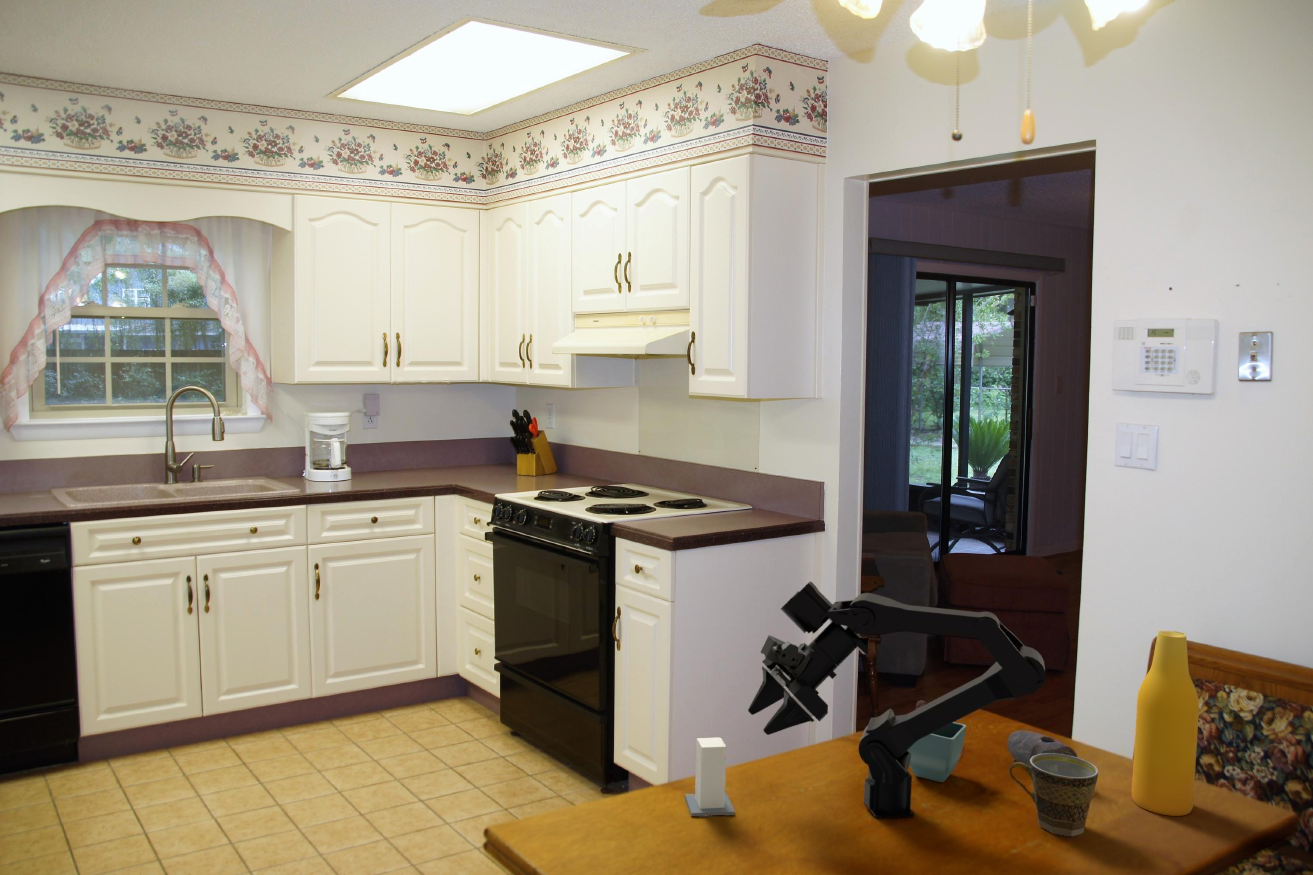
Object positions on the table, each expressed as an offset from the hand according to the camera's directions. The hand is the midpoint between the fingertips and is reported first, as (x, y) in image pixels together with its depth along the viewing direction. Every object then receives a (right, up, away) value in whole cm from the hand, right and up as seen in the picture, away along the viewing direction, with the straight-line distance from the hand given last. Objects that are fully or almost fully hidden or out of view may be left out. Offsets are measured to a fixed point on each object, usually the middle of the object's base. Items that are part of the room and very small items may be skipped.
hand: (757, 722), depth 160 cm
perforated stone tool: (+52, -14, +18) cm, 57 cm away
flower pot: (+33, -14, +14) cm, 38 cm away
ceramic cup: (+46, -15, -4) cm, 49 cm away
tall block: (-8, -13, -1) cm, 15 cm away
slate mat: (-8, -13, 0) cm, 16 cm away
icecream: (+37, -13, +32) cm, 51 cm away
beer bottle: (+68, -15, +5) cm, 70 cm away
